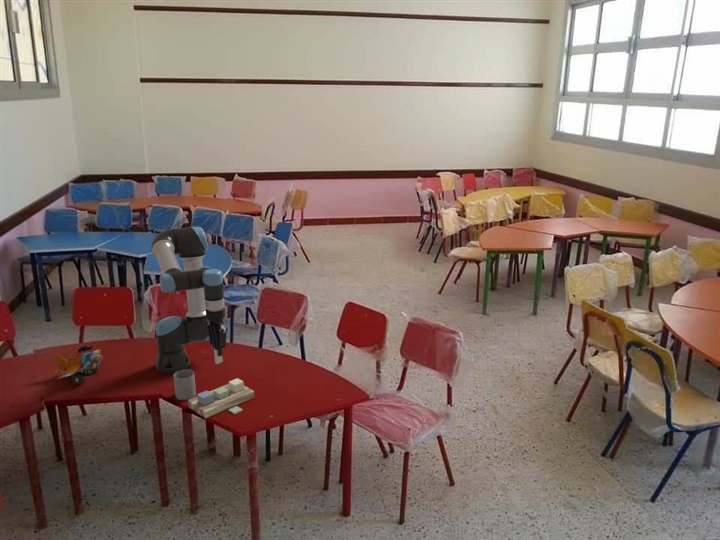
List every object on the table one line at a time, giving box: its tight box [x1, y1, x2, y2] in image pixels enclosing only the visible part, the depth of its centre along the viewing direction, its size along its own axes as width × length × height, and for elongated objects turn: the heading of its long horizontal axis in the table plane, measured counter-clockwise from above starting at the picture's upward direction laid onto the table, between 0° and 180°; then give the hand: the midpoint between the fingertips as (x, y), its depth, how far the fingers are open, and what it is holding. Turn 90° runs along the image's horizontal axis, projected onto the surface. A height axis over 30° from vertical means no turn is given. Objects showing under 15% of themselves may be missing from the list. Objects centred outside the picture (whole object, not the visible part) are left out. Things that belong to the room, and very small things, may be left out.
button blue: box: [196, 390, 214, 407], centre depth 236 cm, size 4×4×4 cm
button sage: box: [213, 386, 229, 400], centre depth 241 cm, size 4×4×4 cm
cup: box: [173, 369, 197, 401], centre depth 246 cm, size 8×8×10 cm
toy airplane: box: [53, 344, 104, 385], centre depth 260 cm, size 29×23×15 cm
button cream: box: [228, 377, 245, 394], centre depth 246 cm, size 4×4×4 cm
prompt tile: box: [228, 405, 243, 415], centre depth 235 cm, size 4×4×1 cm
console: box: [187, 383, 255, 420], centre depth 242 cm, size 13×24×3 cm, turn 136°
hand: (218, 362), depth 237 cm, fingers closed
